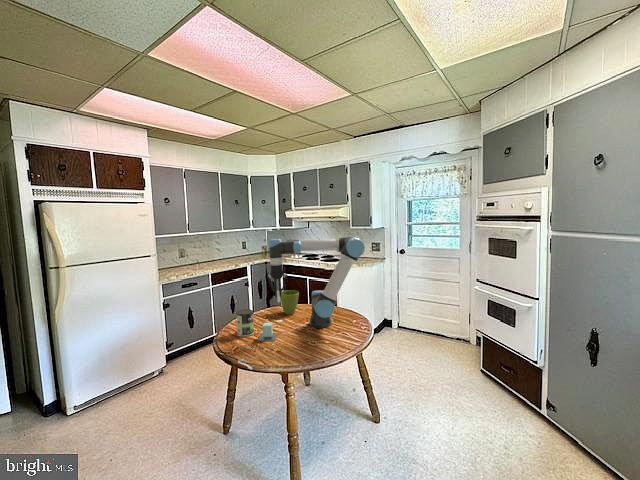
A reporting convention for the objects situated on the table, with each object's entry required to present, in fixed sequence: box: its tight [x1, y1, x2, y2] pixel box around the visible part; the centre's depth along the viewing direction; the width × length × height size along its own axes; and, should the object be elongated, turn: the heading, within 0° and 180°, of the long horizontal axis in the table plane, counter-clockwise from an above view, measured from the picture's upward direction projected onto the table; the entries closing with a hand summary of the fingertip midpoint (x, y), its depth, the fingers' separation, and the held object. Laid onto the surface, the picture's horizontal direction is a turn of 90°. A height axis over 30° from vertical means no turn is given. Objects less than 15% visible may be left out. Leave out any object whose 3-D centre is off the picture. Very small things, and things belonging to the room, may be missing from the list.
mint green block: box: [262, 322, 274, 337], centre depth 181 cm, size 5×5×7 cm
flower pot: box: [280, 289, 300, 315], centre depth 227 cm, size 15×15×16 cm
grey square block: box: [257, 332, 278, 342], centre depth 182 cm, size 10×10×8 cm
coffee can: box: [235, 308, 255, 337], centre depth 188 cm, size 10×10×14 cm
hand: (278, 301), depth 185 cm, fingers closed
